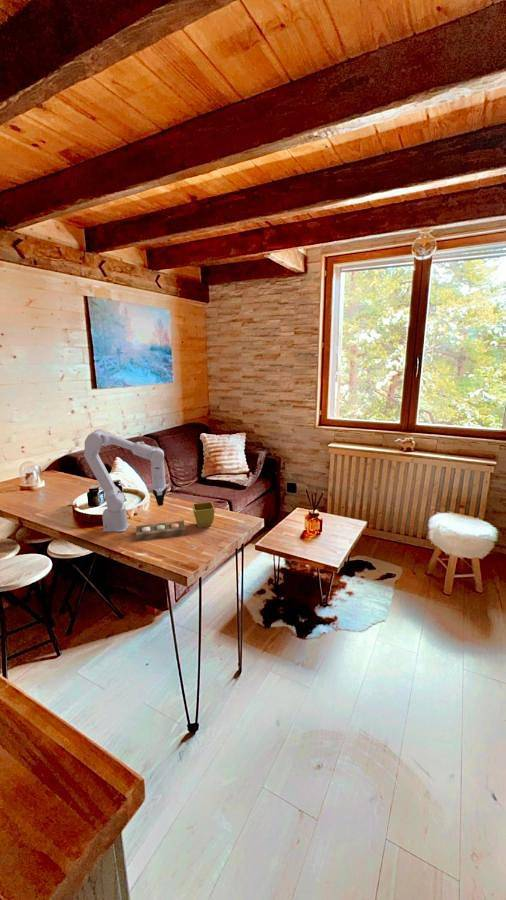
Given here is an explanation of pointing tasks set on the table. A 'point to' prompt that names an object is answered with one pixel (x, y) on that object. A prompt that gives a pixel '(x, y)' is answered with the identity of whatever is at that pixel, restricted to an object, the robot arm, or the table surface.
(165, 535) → the button board
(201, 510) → the flower pot
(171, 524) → the orange button
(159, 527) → the sage button
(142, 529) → the cream button
